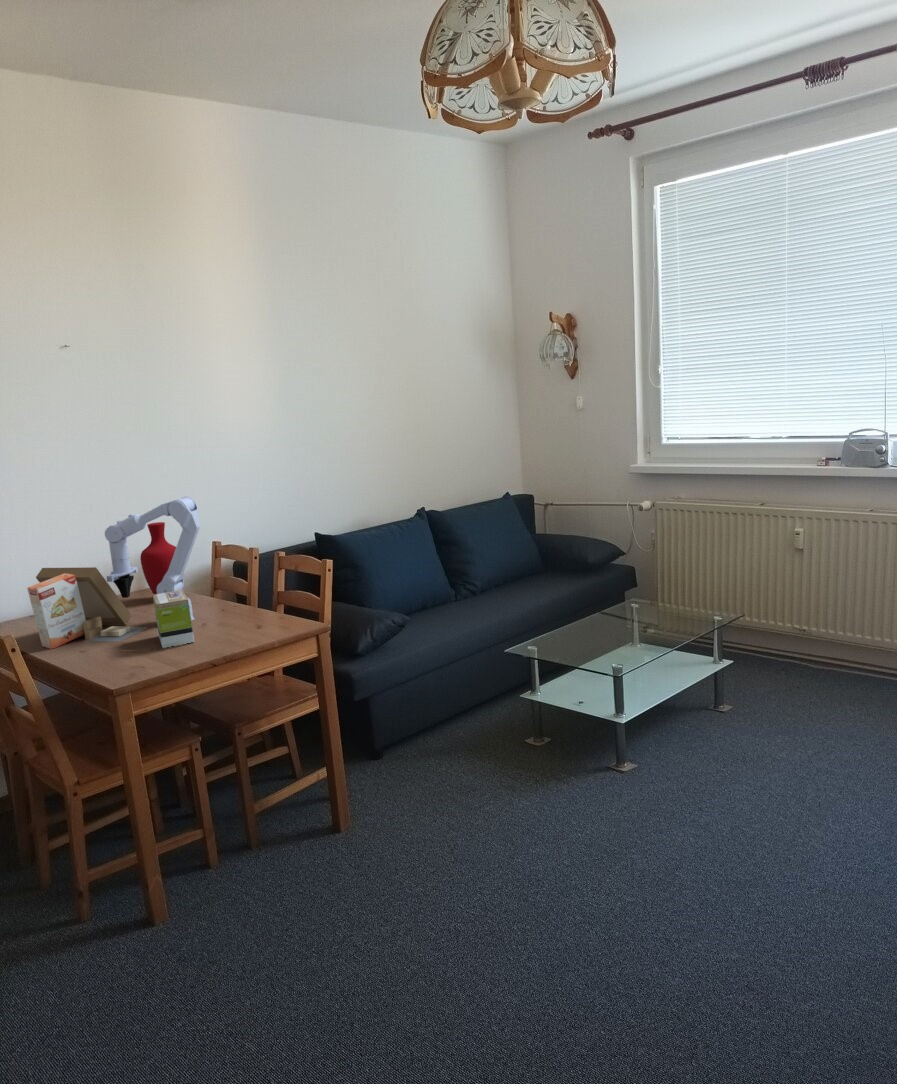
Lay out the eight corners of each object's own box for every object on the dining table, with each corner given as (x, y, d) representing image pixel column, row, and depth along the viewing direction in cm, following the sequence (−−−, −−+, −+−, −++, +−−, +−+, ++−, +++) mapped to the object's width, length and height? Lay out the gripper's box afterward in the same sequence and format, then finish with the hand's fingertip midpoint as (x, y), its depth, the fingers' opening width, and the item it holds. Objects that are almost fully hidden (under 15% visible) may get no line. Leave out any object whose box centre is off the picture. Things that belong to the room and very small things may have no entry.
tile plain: (99, 633, 286) (96, 616, 285) (103, 633, 286) (100, 616, 285) (85, 639, 280) (82, 622, 279) (89, 639, 279) (87, 622, 278)
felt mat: (148, 628, 290) (148, 627, 290) (119, 642, 275) (119, 641, 275) (112, 628, 294) (112, 627, 293) (82, 642, 278) (82, 641, 278)
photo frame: (127, 626, 294) (83, 592, 274) (75, 625, 300) (29, 592, 280) (141, 588, 301) (99, 552, 281) (90, 588, 308) (46, 553, 287)
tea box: (157, 637, 278) (151, 593, 275) (189, 632, 281) (183, 588, 279) (161, 649, 264) (155, 603, 261) (195, 643, 268) (189, 597, 265)
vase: (138, 604, 326) (128, 527, 321) (158, 594, 340) (148, 520, 335) (174, 603, 324) (164, 525, 318) (192, 593, 338) (182, 519, 332)
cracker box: (53, 650, 271) (36, 589, 265) (41, 647, 274) (25, 587, 268) (90, 632, 283) (75, 573, 276) (79, 630, 286) (64, 572, 279)
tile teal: (129, 626, 286) (118, 631, 280) (130, 631, 286) (119, 636, 280) (111, 626, 288) (100, 631, 282) (112, 631, 288) (101, 636, 282)
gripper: (123, 554, 300) (128, 592, 302) (96, 563, 286) (102, 602, 289) (140, 554, 298) (145, 591, 301) (114, 563, 284) (120, 602, 287)
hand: (125, 597), depth 294 cm, fingers closed
